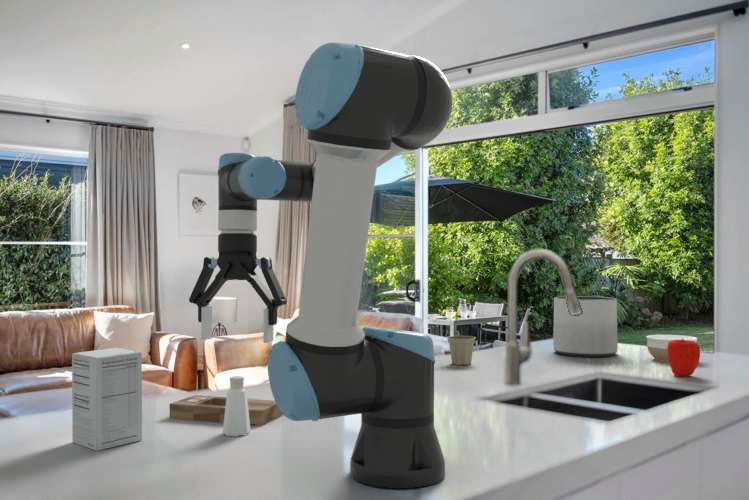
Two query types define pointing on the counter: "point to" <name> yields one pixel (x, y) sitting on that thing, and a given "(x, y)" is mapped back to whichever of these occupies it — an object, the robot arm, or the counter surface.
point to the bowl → (663, 345)
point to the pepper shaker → (236, 409)
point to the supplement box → (106, 398)
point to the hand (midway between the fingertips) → (237, 340)
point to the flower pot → (461, 349)
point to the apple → (683, 357)
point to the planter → (586, 327)
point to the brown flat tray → (221, 409)
